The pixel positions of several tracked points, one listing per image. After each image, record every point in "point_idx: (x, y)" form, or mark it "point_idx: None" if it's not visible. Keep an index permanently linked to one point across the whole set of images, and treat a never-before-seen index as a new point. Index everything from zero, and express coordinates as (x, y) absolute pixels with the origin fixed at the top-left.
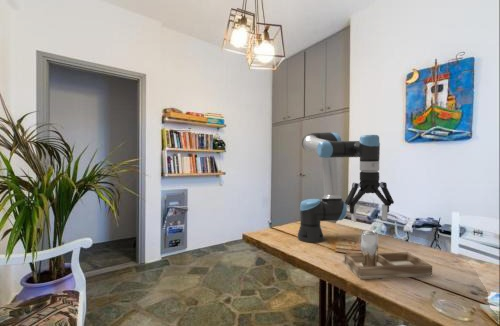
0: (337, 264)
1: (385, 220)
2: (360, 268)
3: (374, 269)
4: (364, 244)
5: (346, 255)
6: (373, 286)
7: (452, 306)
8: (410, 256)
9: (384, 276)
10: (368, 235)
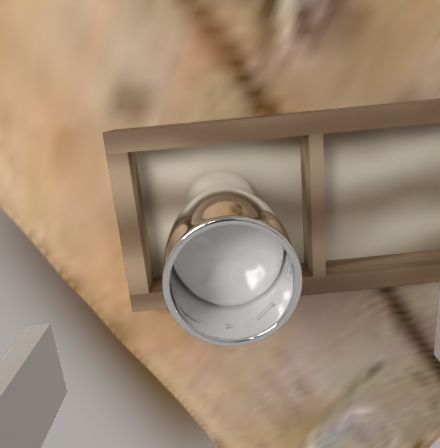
0: (72, 138)
1: (436, 356)
2: (134, 309)
3: None
4: (178, 284)
5: (111, 146)
6: (172, 341)
7: (365, 439)
8: None
9: None
10: (198, 337)
